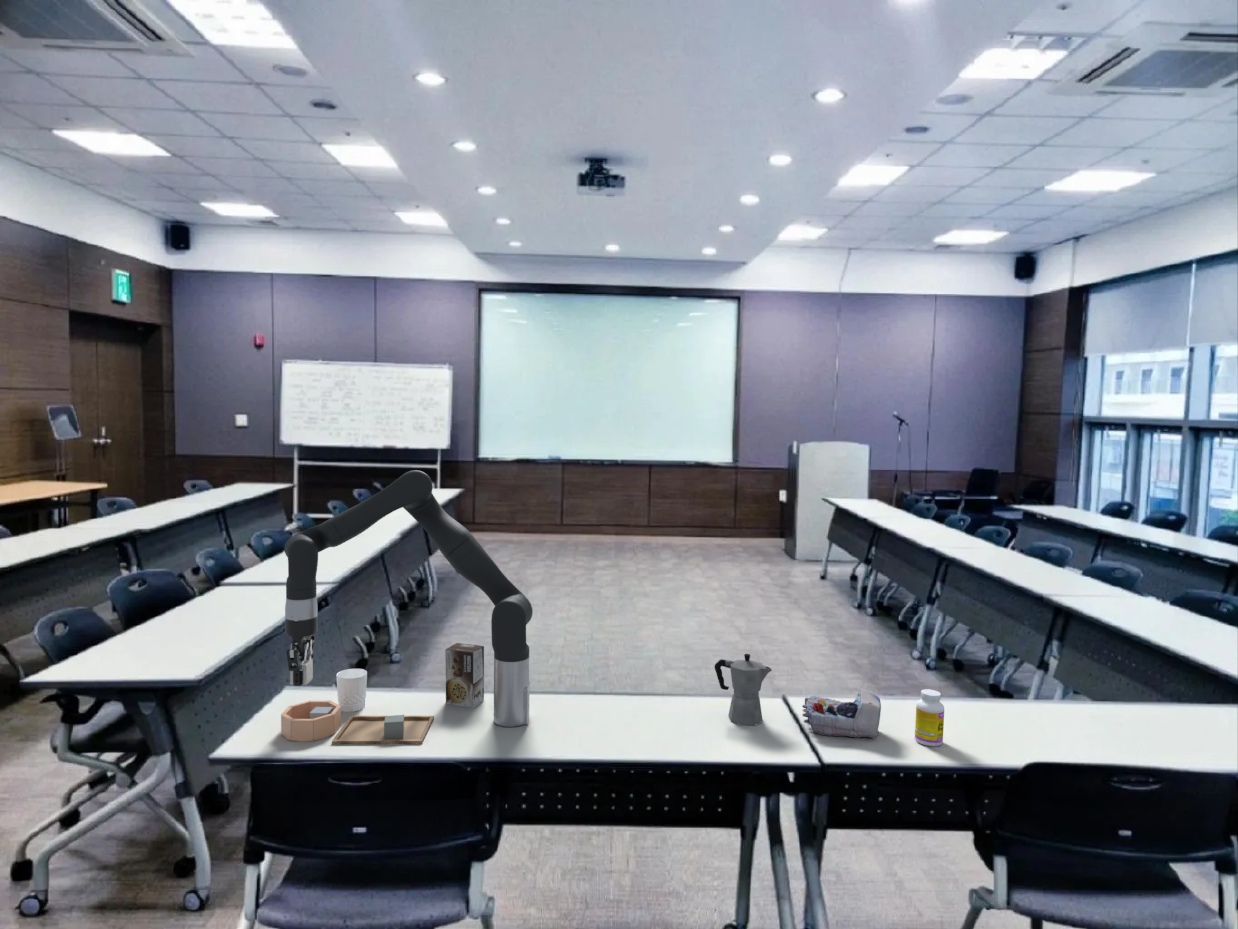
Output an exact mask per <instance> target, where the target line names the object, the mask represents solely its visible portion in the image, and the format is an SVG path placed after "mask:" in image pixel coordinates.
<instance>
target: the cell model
mask: <svg viewBox="0 0 1238 929" xmlns="http://www.w3.org/2000/svg"><path fill="white" fill-rule="evenodd" d="M801 707H802V708H803V709H802V712H803V713H802V717H805V718H806V719H803V722H804V723H805V724H809V725H810V728H811V730H812V732H813V733H815V734H818V735H823V736H828V737H838V736H839V737H841V736H845V737H850V738H853V737H854V738H857V739H859V738H862V737H863V738H864V737H866V738H867V737H869V738H876V737H877V735H878V732H879V727H880V720H881V713H882V712H881V711H882V709H881V708H882V705H881V699H880V697H879V696H878V695H876V694H875V693H873V692H871V691H869V690H866V689H864V688H860V689H858V692H857V694H856V696H855V699H854V701H853V702H852V701H849V702H848V701H847V702H844V701H840V700H836V699H832V698H827V697H820V696H817V695H812V696H810V697H807V696H806V697H805V698H804V704H802V705H801Z"/></svg>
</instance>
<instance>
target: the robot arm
mask: <svg viewBox="0 0 1238 929" xmlns="http://www.w3.org/2000/svg"><path fill="white" fill-rule="evenodd" d="M401 508H403V509H404V510H405V511H406V512H407V513H408V514H409V515H410V516H412V518H413V519H414V520H415V521H417V523H418V524H419V525H420V526H421V527H422V528H423V529H424V530H425V532H426V533H427V534H428V536H429V538H430V539H431V540H432V542H433V543H434V545H435V546H436V547H437V549H438V550H439V551H440V553H441V554H442V555H443V557H444V558H445V559H446V560H447V561H448V563H449V564H450V565H451V566H452V568H453V569H454V570H455V571H456V573H458V574H459V575H460V576H461V577H462V578H464V579H465V580H467V581H468V582H470V583H472V584H473V585H475V587H477V588H479V589H480V590H481V591H482V592H483V593H484V594H485V595H486V596H487V597H488V599H489V600H490V601H491V602H492V604H493V605H494V607H493V609H492V613H491V648H492V650H493V654H494V655H493V656H494V657H493V722H494V724H495V725H497V726H500V727H506V728H507V727H510V728H511V727H519V726H522V725H528V724H529V718H530V690H531V688H530V686H531V685H530V684H531V682H530V646H529V645H528V644H527V625H528V624H529V623H530V621H531V620H532V618H533V607H532V603H531V602H530V600H529V598H527V596H526V595H524V593H523V592H521V590H519V589H518V587H516V586H515V584H514V583H512V582H511V580H510V579H508V577H507V576H506V575H505V574H504V573H503V572H502V570H501V569H500V568H499V566H498V564H496V563H495V561H494V559H492V557H491V556H490V555H489V554H488V553H487V551H486V550H485V549H484V547H483V546H482V545H481V543H480V542H479V541H478V540H477V538H476V537H475V536H474V534H472V533H471V532H470V531H469V529H467V528H466V527H465V526H464V525H462V524H461V523H460V522H458V521H457V520H455V519H454V518H453V517H452V516H450V515H449V514H448V513H447V512H446V511H445V510H444V509H443V507H442V506H441V504H440V503H439V502H438V500H437V499H436V497H435V495H434V494H433V481H432V478H431V477H430V476H429V475H428V474H427V473H425V472H424V471H421V470H417V469H415V470H413V469H412V470H409V471H406V472H405V473H403V474H402V475H401V476H399V477H398V478H397V479H395V480H394V481H392V482H391V483H390V484H389V485H387V486H386V487H384V488H383V489H382V490H380V491H378V492H377V493H375V494H374V495H372V496H370V497H368V498H367V499H365V500H363V501H361V502H360V503H358V504H356V505H354V506H352V507H350V508H348V509H346V510H344V511H342V512H341V513H338V514H337V515H335V516H332V517H331V518H329V519H327V520H325V521H324V522H322V523H320V524H318V525H314V526H312V527H309V528H307V529H305V530H301V531H299V532H297V533H295V534H294V535H292V536H290V538H288V540H287V541H286V543H285V544H284V554H285V556H286V557H287V562H288V563H287V564H288V566H287V568H288V570H287V571H288V572H287V573H288V576H287V578H286V580H285V581H286V583H285V594H286V598H285V606H284V621H285V622H284V625H285V626H284V628H285V630H284V632H285V636H287V637H290V638H292V639H291V640H292V641H291V643H290V649H287V650H286V652H285V653H286V659H287V667H288V671H289V672H290V671H293V685H292V686H295V687H301V686H303V685H302V684H303V665H304V661H306V659H308V660H310V659H311V660H314V658H315V649H316V641H317V640H316V639H317V638H316V637H317V636H316V634H317V633H318V630H319V626H318V623H319V622H318V621H319V620H318V613H319V612H318V611H319V610H318V607H319V606H318V598H317V597H318V596H317V572H318V566H319V564H318V563H319V553H320V552H322V551H324V550H326V549H329V548H335V547H338V546H340V545H342V544H344V543H346V542H347V541H348V542H349V541H350V540H351V539H354V538H355V537H358V536H359V535H360V534H362V533H363V532H365V531H366V530H368V529H369V528H371V527H373V525H375V524H376V523H377V522H378V521H380V520H381V519H383V518H385V517H386V516H388V515H389V514H392V513H393V512H395V511H398V510H399V509H401ZM295 665H296V666H295Z"/></svg>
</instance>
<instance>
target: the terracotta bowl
mask: <svg viewBox="0 0 1238 929" xmlns="http://www.w3.org/2000/svg"><path fill="white" fill-rule="evenodd" d="M315 707H333V711H332V713H331V714H328V715H324V716H321V717H318V718H314V719H310V712H311V711H312V710H313V709H314V708H315ZM341 726H342V711H341V706H340V705H339V703H337V702H336V703H335V701H332V700H307V701H303V702H300V703H295V704H292V705H289V706H288V707H287V708H286V709H285V710H284V711H282V712H281V714H280V732H281V733H280V734H281V735H282V736H283V737H284V738H285V739H286V740H289V741H291V742H311V741H318V740H322V739H325V738H328V737H331V736H333V735H335V734H336V732H339V730H340V729H339V728H340V727H341Z"/></svg>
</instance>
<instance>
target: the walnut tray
mask: <svg viewBox="0 0 1238 929" xmlns="http://www.w3.org/2000/svg"><path fill="white" fill-rule="evenodd" d="M385 716H386V715H350V716H349V718H348V719H347V721H346V722H345V723H344V725H343V726H342V727H341V728H340V729H339V730H338V731H337V732H338V733H337V734H336V735H335V736H334V738H333V739H332V741H331V745H333V746H334V745H336V746H337V745H341V746H342V745H343V746H344V745H423V744H424V740H426V737H427V735H428V733H429V731H430V728H431V726H432V725H433V722H434V720H435V715H404V739H392V740H384V721H385Z"/></svg>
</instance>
